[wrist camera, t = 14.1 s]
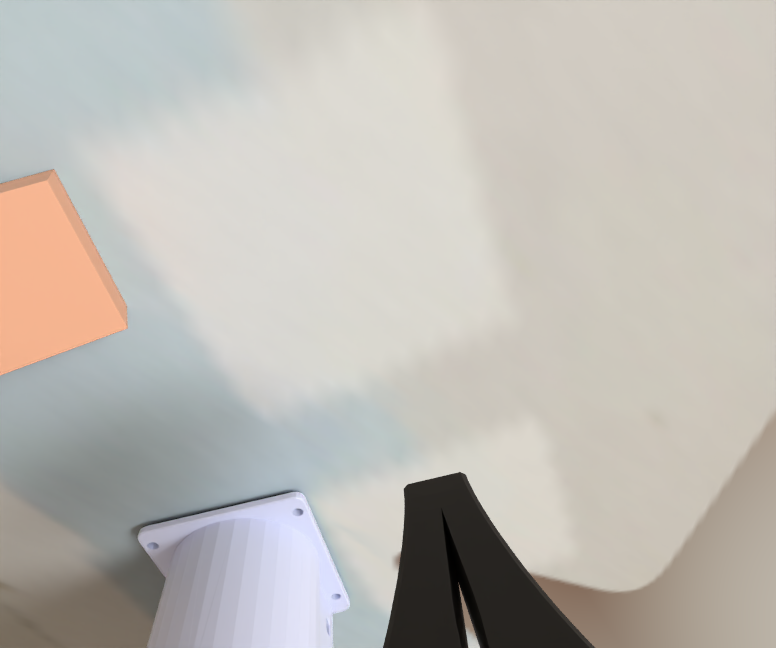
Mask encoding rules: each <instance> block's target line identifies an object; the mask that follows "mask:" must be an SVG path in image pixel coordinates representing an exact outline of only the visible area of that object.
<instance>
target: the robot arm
mask: <svg viewBox="0 0 776 648" xmlns="http://www.w3.org/2000/svg"><path fill="white" fill-rule="evenodd" d="M404 498H405V515H404V531H403V542H402V550H401V557H400V565H399V572H398V579H397V585H396V590H395V595H394V600H393V605H392V610H391V615H390V620H389V625H388V629H387V634H386V638H385V642H384V646H383V648H468V643H467V636H466V629H465V623H464V617H463V610H462V603H461V597H460V591H459V585H460V588H461V591H462V594H463V597H464V600H465V603H466V606H467V609H468V612H469V615H470V618H471V621H472V624H473V627H474V630H475V633H476V636H477V639H478V642H479V645H480V648H594V646H593V645H592V644H591V643H590V642H589V641H588V640H587V639H586V638H585V637H584V636H583V635H582V634H581V633H580V632H579V630H578V629H576V627H575V626H574V625H573V624H572V623H571V622H570V621H569V620H568V618H567V617H566V616H565V615H564V614H563V613H562V612H561V611H560V610H559V608H558V607H557V606H556V605H555V604H554V603H553V602H552V600H551V599H550V598H549V597H548V596H547V594H546V593H545V592H544V591H543V590H542V588H541V587H540V586H539V585H538V584H537V582H536V581H535V580H534V579H533V577H532V576H531V575H530V574H529V572H528V571H527V570H526V569H525V567H524V566H523V565H522V563H521V562H520V561H519V560H518V558H517V557H516V556H515V554H514V553H513V551H512V550H511V549H510V547H509V546H508V544H507V543H506V542H505V540H504V539H503V538H502V536H501V535H500V533H499V532H498V530H497V529H496V528H495V526H494V525H493V523H492V522H491V520H490V518H489V517H488V515H487V514H486V512H485V511H484V509H483V507H482V506H481V504H480V502H479V501H478V499H477V497H476V495H475V493H474V492H473V490H472V488H471V486H470V484H469V481H468V479H467V477H466V475H465V474H463V473H461V472H459V473H455V474H450V475H446V476H442V477H437V478H433V479H429V480H425V481H420V482H416V483H412V484H408V485H407V486H406V487H405V488H404ZM137 539H138V541H139V543H140V544H141V545H142V547H143V548H144V549H145V551H146V552H147V554H148V555H149V556H150V558H151V559H152V560H153V562H154V563H155V564H156V566H157V567H158V569H159V570H160V571H161V573H162V574H163V575H164V577H165V578H166V581H165V584H164V588H163V591H162V595H161V598H160V602H159V605H158V609H157V612H156V616H155V620H154V623H153V627H152V630H151V634H150V637H149V641H148V644H147V648H333V614H334V613H338V612H342V611H345V610H347V609H348V608H349V606H350V602H349V597H348V595H347V592H346V590H345V588H344V585H343V583H342V581H341V578H340V576H339V574H338V571H337V569H336V567H335V565H334V562H333V560H332V558H331V555H330V553H329V551H328V548H327V546H326V544H325V541H324V539H323V537H322V534H321V532H320V530H319V528H318V525H317V523H316V521H315V518H314V516H313V514H312V511H311V509H310V507H309V504H308V502H307V500H306V497H305V496H304V495H303V494H302V493H300V492H291V493H286V494H282V495H278V496H274V497H269V498H265V499H261V500H256V501H252V502H248V503H243V504H239V505H235V506H231V507H226V508H222V509H218V510H213V511H209V512H205V513H201V514H196V515H192V516H188V517H183V518H179V519H175V520H170V521H166V522H162V523H158V524H153V525H149V526H145V527H143V528H141V529H140V531H139V534H138V537H137ZM458 582H459V584H458Z"/></svg>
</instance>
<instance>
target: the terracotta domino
mask: <svg viewBox="0 0 776 648" xmlns="http://www.w3.org/2000/svg"><path fill="white" fill-rule="evenodd" d="M127 328H128V326H127V306H126V304H125V302H124V300H123V298H122V296H121V294H120V292H119V290H118V289H117V287H116V285H115V283H114V281H113V279H112V277H111V275H110V274H109V272H108V270H107V268H106V266H105V264H104V262H103V260H102V258H101V257H100V255H99V253H98V251H97V249H96V247H95V245H94V243H93V242H92V240H91V238H90V236H89V234H88V232H87V230H86V228H85V226H84V225H83V223H82V221H81V219H80V217H79V215H78V213H77V211H76V210H75V208H74V206H73V204H72V202H71V200H70V198H69V196H68V194H67V193H66V191H65V189H64V187H63V185H62V183H61V181H60V179H59V178H58V176H57V174H56V172H55V170H54V169H53V170H49V171H45V172H42V173H38V174H35V175H31V176H27V177H24V178H20V179H16V180H13V181H9V182H5V183H2V184H0V375H2V374H5V373H8V372H11V371H13V370H16V369H19V368H21V367H24V366H27V365H30V364H32V363H35V362H38V361H40V360H43V359H46V358H49V357H51V356H54V355H57V354H59V353H62V352H65V351H68V350H70V349H73V348H76V347H78V346H81V345H84V344H86V343H89V342H92V341H95V340H97V339H100V338H103V337H105V336H108V335H111V334H114V333H116V332H119V331H122V330H124V329H127Z"/></svg>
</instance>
